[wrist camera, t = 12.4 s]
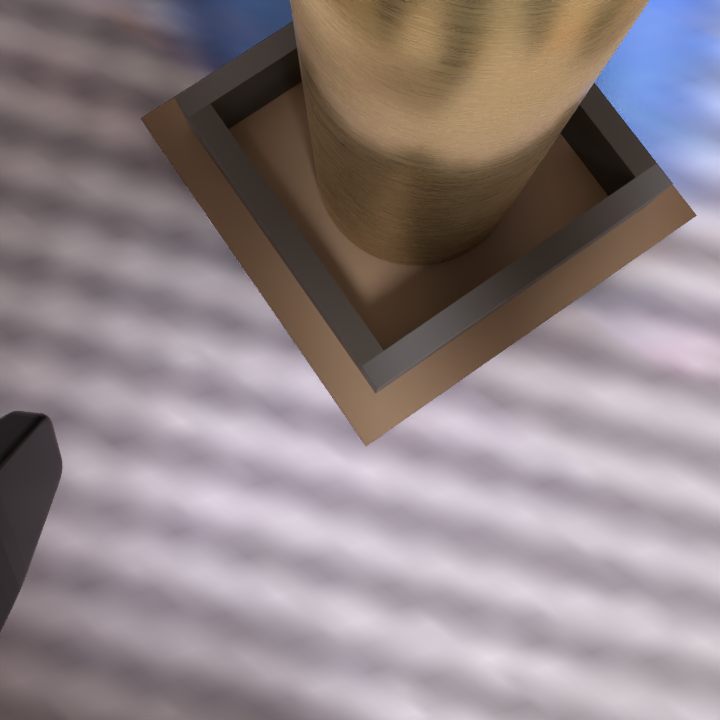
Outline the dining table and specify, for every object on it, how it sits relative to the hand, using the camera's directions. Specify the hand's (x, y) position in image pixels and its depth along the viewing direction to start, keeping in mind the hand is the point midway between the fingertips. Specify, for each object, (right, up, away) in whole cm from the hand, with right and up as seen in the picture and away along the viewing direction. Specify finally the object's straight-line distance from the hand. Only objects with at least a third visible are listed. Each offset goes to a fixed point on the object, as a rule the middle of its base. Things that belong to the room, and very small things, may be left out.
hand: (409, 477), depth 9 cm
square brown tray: (+1, +6, +10) cm, 11 cm away
